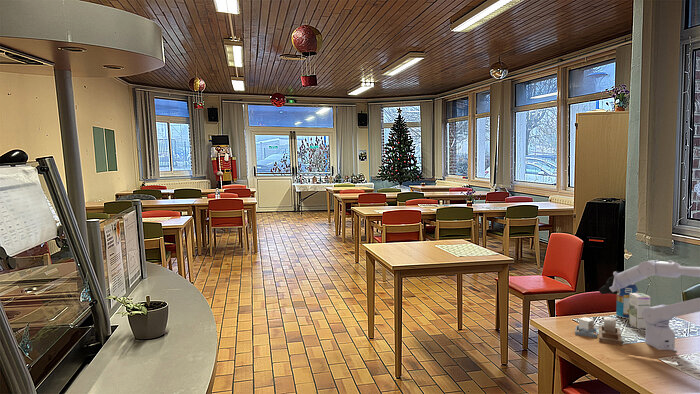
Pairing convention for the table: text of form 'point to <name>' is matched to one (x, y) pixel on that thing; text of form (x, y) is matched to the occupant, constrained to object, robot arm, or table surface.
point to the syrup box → (638, 309)
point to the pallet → (610, 336)
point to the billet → (609, 324)
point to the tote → (586, 333)
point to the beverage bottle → (624, 300)
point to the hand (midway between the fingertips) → (604, 287)
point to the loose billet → (586, 325)
